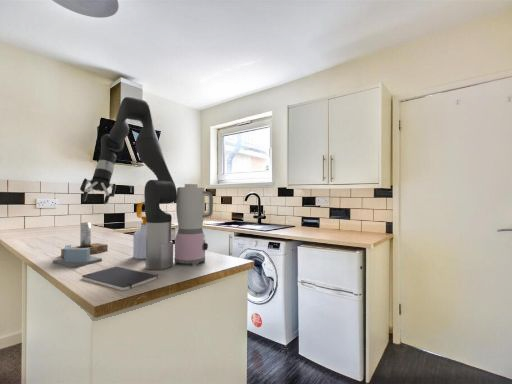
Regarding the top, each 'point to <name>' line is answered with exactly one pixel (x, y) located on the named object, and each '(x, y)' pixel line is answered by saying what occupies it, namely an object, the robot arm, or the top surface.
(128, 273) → the notebook
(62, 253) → the beam
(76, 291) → the top surface
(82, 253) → the v block
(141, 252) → the soap bottle
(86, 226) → the axle
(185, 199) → the blender
